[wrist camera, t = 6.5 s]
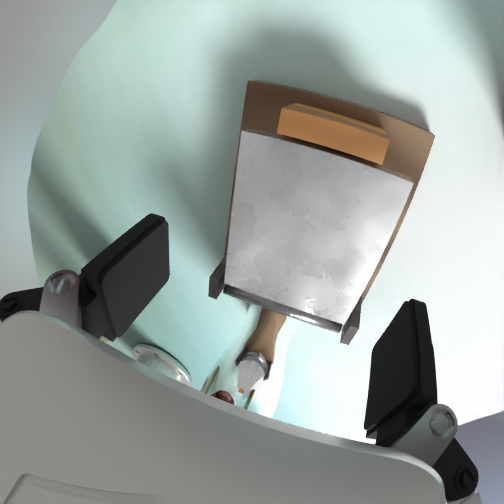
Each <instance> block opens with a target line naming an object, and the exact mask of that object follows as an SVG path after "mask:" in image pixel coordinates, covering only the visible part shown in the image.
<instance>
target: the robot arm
mask: <svg viewBox="0 0 504 504" xmlns="http://www.w3.org/2000/svg"><path fill="white" fill-rule="evenodd" d="M81 272H82V273H81V274H80V275H79V276H78V275H77V273H75V272H74V271H71V270H60V271H57V272H55V273H53V274H52V275H51V276H49V277H48V279H47V280H46V282H45V284H44V287H41V288H35V289H29V290H23V291H18V292H12V293H9V294H7V295H6V296H4V297H3V298H2V299H1V300H0V504H482V501H481V498H480V494H479V491H478V492H475V488H476V486H477V483H478V471H477V468H476V467H475V465H474V464H473V462H472V461H471V459H470V458H469V457H468V455H467V454H466V453H465V451H464V450H463V448H462V447H461V446H460V444H459V443H458V442H457V440H456V439H455V438H454V436H455V434H456V432H457V427H458V424H457V419H456V416H455V414H454V412H453V411H452V410H451V409H450V408H449V407H448V406H446V405H443V404H438V403H437V383H436V370H435V359H434V350H433V345H432V341H431V333H430V326H429V320H428V313H427V308H426V304H425V303H424V302H421V301H418V300H415V299H411V300H409V302H408V301H405V302H404V303H403V305H402V306H401V308H400V309H399V311H398V312H397V314H396V315H395V317H394V318H393V320H392V321H391V323H390V324H389V326H388V327H387V329H386V330H385V332H384V333H383V334H382V336H381V337H380V339H379V340H378V341H377V343H376V344H375V346H374V348H373V350H372V357H371V370H370V381H369V390H368V399H367V407H366V415H365V422H364V429H365V430H367V434H366V438H371V439H376V444H375V445H373V444H368V443H363V442H358V441H354V440H349V439H345V438H341V437H337V436H333V435H329V434H324V433H321V432H317V431H313V430H309V429H305V428H302V427H298V426H295V425H292V424H288V423H285V422H282V421H279V420H275V419H272V418H269V417H266V416H263V415H260V414H258V413H255V412H252V411H249V410H246V409H244V408H241V407H238V406H235V405H233V404H230V403H228V402H225V401H223V400H220V399H218V398H215V397H213V396H210V395H208V394H206V393H203V392H201V391H199V390H196V389H194V388H192V387H190V386H189V384H190V382H191V378H190V375H189V374H188V372H187V371H186V369H185V368H184V367H183V366H182V365H181V364H180V363H179V362H178V361H176V360H175V359H174V358H173V357H171V356H170V355H168V354H167V353H165V352H164V351H162V350H160V349H158V348H156V347H153V346H150V345H147V344H139V345H137V346H136V347H135V348H134V350H133V355H134V358H135V359H133V358H131V357H129V356H127V355H126V354H124V353H122V352H120V351H119V350H117V349H115V348H113V347H111V346H110V345H108V344H106V343H104V342H103V341H101V340H99V338H100V337H101V336H103V337H105V338H107V339H108V340H110V341H112V342H113V341H114V340H115V339H116V337H120V336H122V335H123V334H124V332H125V331H126V330H127V329H128V327H129V326H130V325H131V324H132V323H133V321H134V320H135V319H136V318H137V317H138V315H139V314H140V313H141V312H142V311H143V309H144V308H145V307H146V306H147V305H148V303H149V302H150V301H151V300H152V299H153V298H154V296H155V295H156V294H157V293H158V292H159V291H160V289H161V288H162V287H163V286H164V285H165V284H166V282H167V281H168V279H169V275H170V271H169V234H168V222H166V220H165V218H164V217H162V216H159V215H156V214H153V213H150V214H149V215H147V216H146V217H145V218H143V219H142V220H141V221H139V222H138V223H137V224H136V225H134V226H133V227H132V228H130V229H129V230H128V231H127V232H125V233H124V234H123V235H122V236H120V237H119V238H118V239H117V240H115V241H114V242H113V243H112V244H111V245H109V246H108V247H107V248H106V249H105V250H103V251H102V252H101V253H100V254H99V255H97V256H96V257H95V258H94V259H93V260H92V261H90V262H89V263H88V264H87V265H86V266H85V267H83V268H82V269H81Z"/></svg>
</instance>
